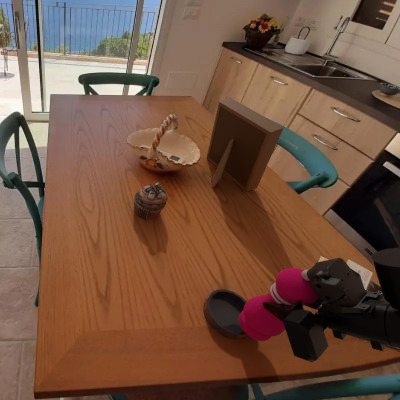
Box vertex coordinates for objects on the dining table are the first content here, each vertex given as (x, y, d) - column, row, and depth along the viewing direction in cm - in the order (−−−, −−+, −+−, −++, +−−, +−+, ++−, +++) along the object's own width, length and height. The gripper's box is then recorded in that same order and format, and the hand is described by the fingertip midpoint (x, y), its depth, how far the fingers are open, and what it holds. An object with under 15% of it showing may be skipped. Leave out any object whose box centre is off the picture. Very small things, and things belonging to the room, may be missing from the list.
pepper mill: (232, 330, 55) (284, 277, 41) (238, 302, 59) (287, 246, 46) (272, 351, 52) (341, 302, 38) (275, 320, 56) (338, 266, 43)
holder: (260, 325, 60) (266, 321, 58) (229, 347, 56) (234, 343, 54) (224, 287, 66) (228, 282, 64) (193, 305, 62) (197, 300, 61)
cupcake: (150, 197, 89) (157, 173, 83) (168, 217, 83) (177, 193, 76) (125, 204, 86) (131, 180, 79) (142, 225, 80) (149, 201, 73)
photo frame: (214, 156, 110) (242, 96, 93) (255, 189, 95) (298, 125, 78) (184, 162, 106) (208, 100, 89) (222, 197, 91) (259, 131, 74)
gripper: (401, 241, 39) (284, 238, 53) (346, 304, 31) (226, 280, 46) (422, 311, 40) (300, 289, 54) (373, 389, 32) (246, 340, 46)
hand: (270, 297), depth 50 cm, fingers closed on pepper mill, 5 cm apart
